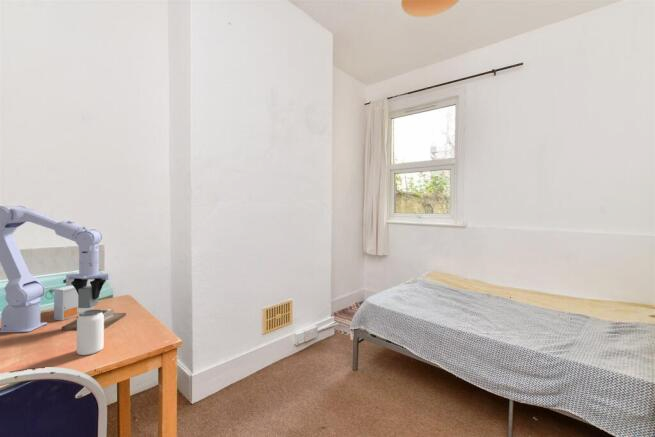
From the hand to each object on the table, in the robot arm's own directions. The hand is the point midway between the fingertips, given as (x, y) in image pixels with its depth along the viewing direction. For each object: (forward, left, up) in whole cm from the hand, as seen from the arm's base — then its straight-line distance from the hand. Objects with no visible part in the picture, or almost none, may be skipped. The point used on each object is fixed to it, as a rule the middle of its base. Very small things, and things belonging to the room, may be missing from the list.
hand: (89, 298), depth 109 cm
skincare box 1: (-13, +8, -10) cm, 18 cm away
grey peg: (0, 0, -3) cm, 3 cm away
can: (+14, -20, -10) cm, 27 cm away
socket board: (+1, +3, -10) cm, 10 cm away
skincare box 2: (-14, +17, -10) cm, 24 cm away
